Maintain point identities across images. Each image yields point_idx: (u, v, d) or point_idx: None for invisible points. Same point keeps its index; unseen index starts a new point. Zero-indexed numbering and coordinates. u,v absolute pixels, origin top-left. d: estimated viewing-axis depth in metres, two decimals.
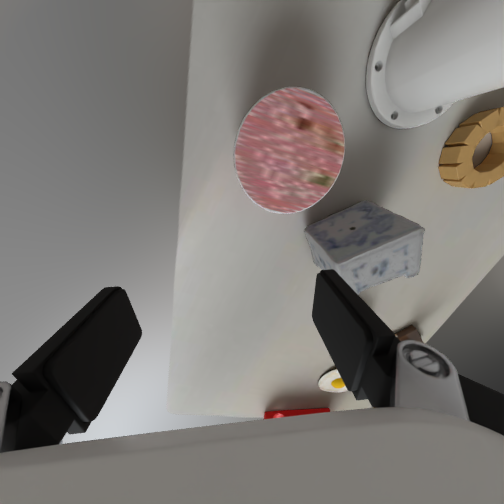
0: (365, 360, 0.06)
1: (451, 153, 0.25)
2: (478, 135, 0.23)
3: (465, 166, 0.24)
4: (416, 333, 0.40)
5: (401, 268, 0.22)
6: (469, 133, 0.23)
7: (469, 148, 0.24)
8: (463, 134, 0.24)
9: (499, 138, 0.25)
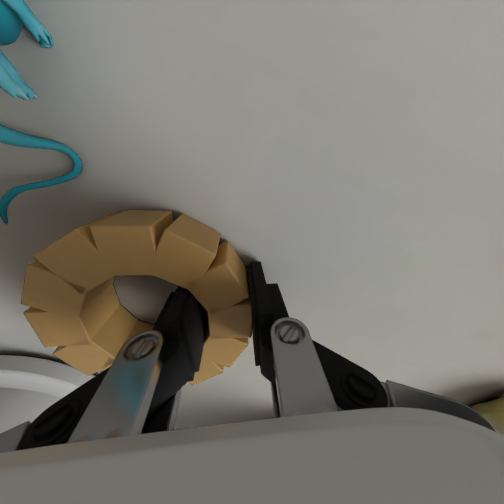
0: (257, 336, 0.07)
1: None
2: None
3: None
4: None
5: None
6: None
7: None
8: None
9: None
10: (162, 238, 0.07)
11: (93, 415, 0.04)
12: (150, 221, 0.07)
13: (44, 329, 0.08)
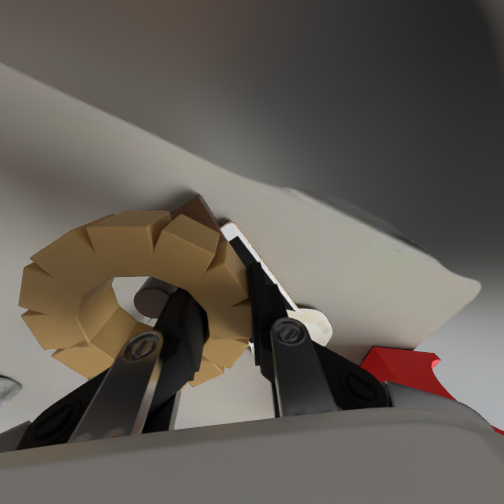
0: (257, 336, 0.07)
1: None
2: None
3: None
4: None
5: None
6: None
7: None
8: None
9: None
10: (160, 238, 0.06)
11: (93, 415, 0.04)
12: (148, 222, 0.07)
13: (42, 332, 0.08)
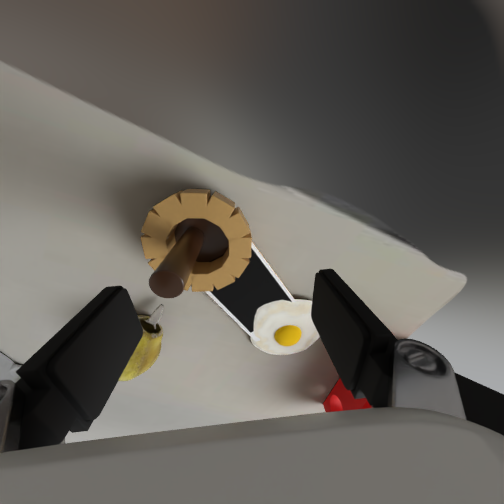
0: (363, 359, 0.06)
1: None
2: None
3: (217, 279, 0.18)
4: None
5: None
6: None
7: (194, 281, 0.17)
8: None
9: None
10: (210, 199, 0.14)
11: None
12: (205, 192, 0.15)
13: (147, 247, 0.16)
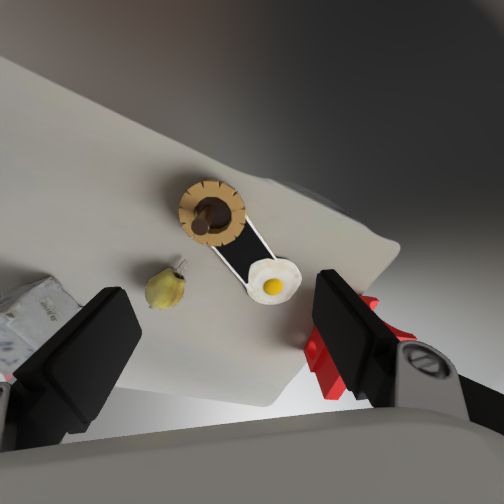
0: (365, 360, 0.06)
1: None
2: None
3: (224, 237, 0.28)
4: None
5: None
6: (198, 241, 0.28)
7: (209, 239, 0.28)
8: None
9: None
10: (221, 185, 0.24)
11: None
12: (217, 181, 0.25)
13: (182, 215, 0.26)
